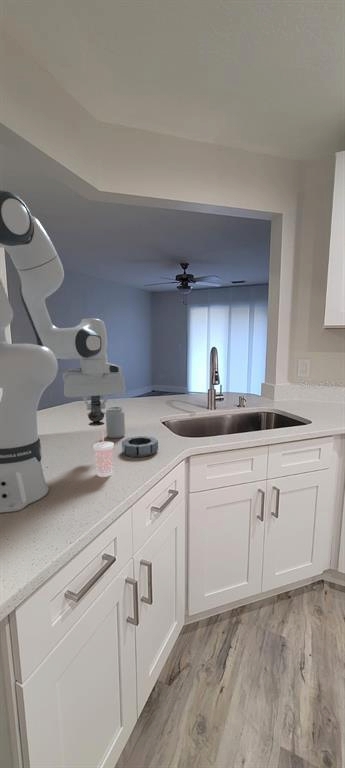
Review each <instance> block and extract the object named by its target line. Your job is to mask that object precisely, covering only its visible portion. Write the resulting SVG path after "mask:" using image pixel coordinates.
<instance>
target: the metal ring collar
mask: <svg viewBox="0 0 345 768" xmlns="http://www.w3.org/2000/svg"><path fill="white" fill-rule="evenodd" d="M121 450H122V454H123V455H124V456H126V457H130V458H147V457H150V456H154V455H156V454H157V453H158V450H159V440H158V439H156V438H155V437H152V436H145V435H142V436H141V435H140V436H139V435H138V436H133V437H128V438H126V439H124V440H122V441H121Z"/></svg>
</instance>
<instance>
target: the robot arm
mask: <svg viewBox="0 0 345 768" xmlns="http://www.w3.org/2000/svg"><path fill="white" fill-rule="evenodd" d="M0 248H3V250H5V251H6V252H7V253H8V255H9V257H10V259H11V260H12V263H13V265H14V267H15V269H16V271H17V274H18V275H19V279H20V282H21V283H20V286H19V295H20V297H21V301H22V304H23V307H24V309H25V312H26V315H27V317H28V319H29V320H28V321H29V323H30V325H31V327H32V329H33V333H34V334H35V339H36V343H37V344H34V343H9V342H8V341H7V337H6V328H7V327H8V326H9V325H10V324H11V322H12V321H13V319H14V310H13V308H12V306H11V303H10V300H9V298H8V295H7V292H6V289H5V287H4V283H3V281H2V280H1V279H2V278H0V389H2V390H1V392H2V394H1V398H0V513H10V512H11V513H12V512H18V511H20V510H23V509H24V508H25V507H27V506H29V505H30V504H32V503H34V502H37V501H38V500H40V499H42V498H43V497H44V496H46V495H47V494H48V492H49V486H48V484H47V481H46V478H45V475H44V471H43V466H42V462H41V460H42V457H43V455H42V445H41V439H40V438H39V433H38V408H39V403H40V401H41V397H42V395H43V394H44V393H43V392H45V390H46V388H48V387H49V385H51V384H52V383H53V382H54V380H55V379H56V377H57V374H58V371H59V363H58V361H59V360H60V361H61V360H80V368H67V369H65V370H64V371H63V372H62V374H61V377H62V378H61V379H62V382H63V383H64V384H63V385H64V386H63V395H64V396H65V397H66V398H79V397H80V398H82V400H83V402H84V403H85V405H86V410H87V411H89V410H90V411H91V409H92V404H91V403H89V402H88V399H89V397H91V396H100V397H101V396H102V397H103V401H102V402H101V403H100V408H101V410H103V409H106V403H107V401H108V400H109V396H111V395H112V396H114V395H124V394H125V393H126V391H127V388H126V380H125V377H124V375H123V374H122V372H123V371H122V370H123V369H122V367H121V366H119V365H117V364H114V363H109V360H108V354H107V348H108V338H107V337H108V335H107V328H106V324H105V322H104V321H103V320H101V319H99V318H97V317H96V318H95V317H85V318H82V319H81V320H80V323H79V324H78V325H76V326H74V327H64V328H63V327H61V328H60V327H57V326H55V325H54V324H53V323H52V320H51V316H50V314H49V311H48V309H47V306H46V298H48V297H50V296H52V294H54V293H55V292H56V291H57V290H58V289H59V288H60V287H61V285H62V283H63V281H64V278H65V270H64V267H63V263H62V261H61V259H60V256H59V254H58V252H57V250H56V248H55V246H54V244H53V242H52V240H51V238H50V236H49V235H48V233H47V231H46V230H45V229H44V227H43V226H42V224H41V222H40V220H38V219H37V218H36V217H35V216H33V215H32V214H31V211H30V210H29V208H28V207H27V205H26V204H25V202H24V201H23V199H21V198H20V197H19V196H18V195H16V194H15V193H13V192H10V191H7V190H0Z"/></svg>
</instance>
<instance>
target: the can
mask: <svg viewBox="0 0 345 768" xmlns="http://www.w3.org/2000/svg"><path fill="white" fill-rule="evenodd" d="M106 409H107V410H106V411H105V424H106V425H105V429H106V436H107V437H108V438H109V439H121V438H122V437H124V436H125V435H126V425H125V410H124V409H123V406H111V407H107V408H106Z"/></svg>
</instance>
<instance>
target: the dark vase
mask: <svg viewBox="0 0 345 768" xmlns="http://www.w3.org/2000/svg"><path fill="white" fill-rule="evenodd" d="M90 398H91V399H90V404H92V409H91V410H90V412H89V413H87V416H88V419H89V421H90V422H89V423H88V426H91V427H94V426H95V427H98V426H103V425H105V422H104V421H102V420H104V417H105V415H106V412H103V411H102V409H101V408H100V406H101V405H100V403H102V401H101V395H100V396H90Z"/></svg>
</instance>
